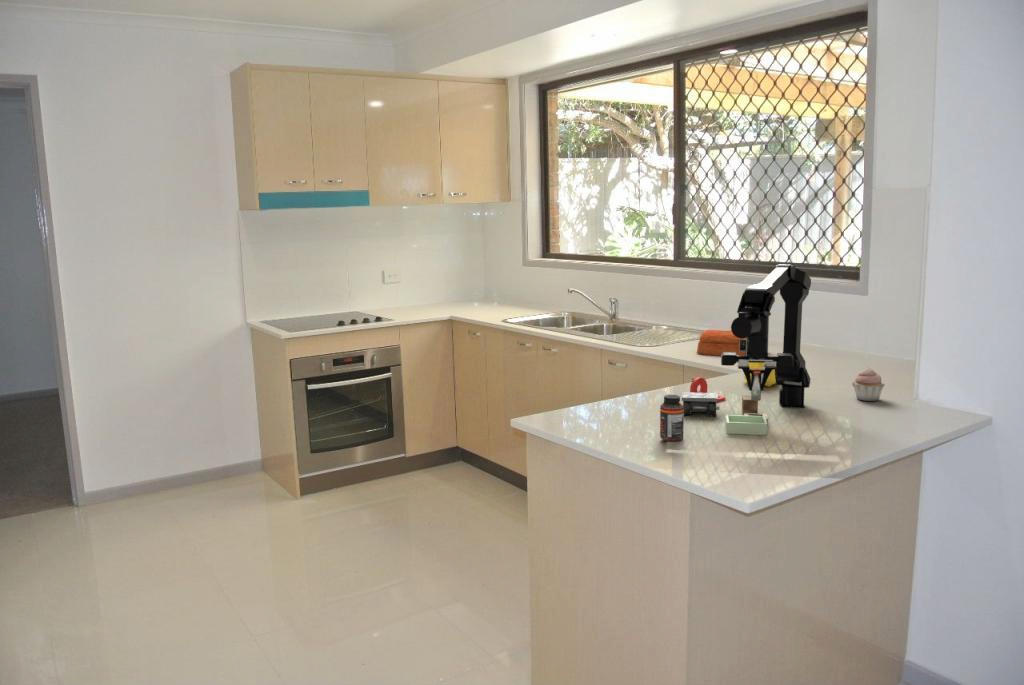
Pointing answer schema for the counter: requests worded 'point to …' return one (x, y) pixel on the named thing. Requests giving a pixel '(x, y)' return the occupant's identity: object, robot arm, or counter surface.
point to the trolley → (700, 402)
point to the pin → (756, 384)
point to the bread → (718, 343)
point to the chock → (749, 405)
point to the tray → (746, 424)
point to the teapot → (771, 378)
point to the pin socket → (757, 415)
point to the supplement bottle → (671, 419)
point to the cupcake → (868, 385)
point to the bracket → (702, 387)
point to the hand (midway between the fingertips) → (756, 390)
